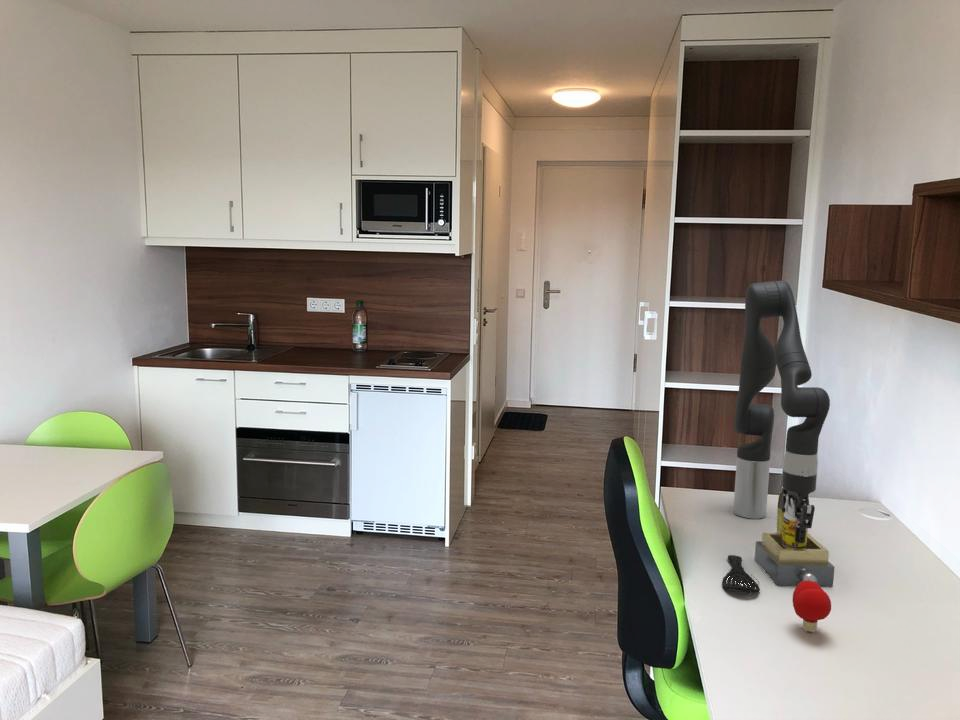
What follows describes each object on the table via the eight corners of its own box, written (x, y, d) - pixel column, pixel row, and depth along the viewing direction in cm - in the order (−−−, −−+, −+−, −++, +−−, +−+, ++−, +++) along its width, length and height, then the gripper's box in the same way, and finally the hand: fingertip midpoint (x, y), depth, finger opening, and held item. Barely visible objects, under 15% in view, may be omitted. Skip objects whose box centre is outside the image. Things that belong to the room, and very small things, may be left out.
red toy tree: (783, 620, 161) (787, 575, 160) (817, 621, 161) (821, 576, 160) (800, 642, 152) (804, 595, 151) (836, 644, 152) (840, 596, 150)
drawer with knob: (754, 560, 193) (756, 529, 192) (806, 560, 193) (808, 530, 191) (781, 591, 175) (784, 558, 174) (838, 592, 175) (841, 559, 174)
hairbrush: (751, 549, 194) (763, 586, 169) (750, 563, 194) (762, 602, 170) (717, 545, 196) (724, 581, 171) (716, 559, 196) (723, 597, 172)
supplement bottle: (776, 545, 185) (779, 504, 184) (791, 541, 188) (794, 501, 187) (795, 553, 181) (799, 512, 179) (811, 549, 183) (814, 508, 182)
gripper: (772, 461, 189) (768, 526, 191) (796, 478, 174) (790, 549, 177) (803, 461, 189) (798, 527, 191) (829, 479, 174) (823, 549, 177)
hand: (794, 537), depth 184 cm, fingers closed on supplement bottle, 5 cm apart
